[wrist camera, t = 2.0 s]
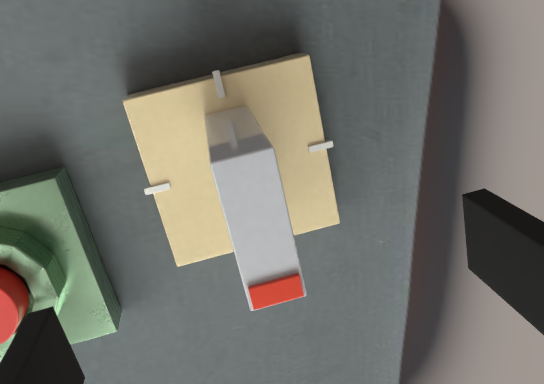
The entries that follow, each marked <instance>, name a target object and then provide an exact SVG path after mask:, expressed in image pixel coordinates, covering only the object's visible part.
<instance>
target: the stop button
mask: <svg viewBox="0 0 544 384" xmlns="http://www.w3.org/2000/svg"><path fill="white" fill-rule="evenodd" d="M28 305H29V295H28V291H27V289H26V286H25V285H24V283H23V282H22V280H21V279H20V278H19V277H18V276H17V275H16V274H14V273H13V272H11V271H10V270H8V269H6V268H3V267H1V266H0V344H2V343H4V342H5V341H7V340H8V339H9V338H10V337H11V336H12V335H13V334H14V333H15V331H16V329H17V328H18V326H19V324H20V322H21V320H22V319H23V317H24V315H25V313H26V311H27V309H28Z"/></svg>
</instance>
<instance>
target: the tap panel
mask: <svg viewBox="0 0 544 384" xmlns="http://www.w3.org/2000/svg"><path fill="white" fill-rule="evenodd" d="M212 73H213V74H211V75H207V76H203V77H199V78H195V79H190V80H186V81H182V82H178V83H174V84H170V85H166V86H162V87H157V88H153V89H149V90H145V91H141V92H137V93H133V94H129V95H127V96H126V97H125V99H124V100H123V104H124V107H125V110H126V113H127V116H128V120H129V123H130V126H131V129H132V132H133V135H134V138H135V141H136V144H137V147H138V150H139V153H140V156H141V159H142V162H143V165H144V168H145V171H146V174H147V177H148V180H149V183H150V186H151V187H147V188H144V191H145V194H146V195H148V194H152V193H153V195H154V198H155V201H156V204H157V207H158V210H159V213H160V216H161V219H162V222H163V226H164V229H165V232H166V235H167V238H168V241H169V244H170V247H171V250H172V253H173V256H174V259H175V262H176V265H177V266H178V267H179V266H182V265H186V264H190V263H194V262H197V261H201V260H205V259H208V258H212V257H216V256H220V255H223V254H227V253H231V252H234V250H233V246H232V243H231V239H230V236H229V232H228V228H227V225H226V221H225V218H224V214H223V210H222V207H221V203H220V199H219V196H218V192H217V189H216V185H215V181H214V178H213V174H212V171H211V167H210V162H209V154H208V146H207V138H206V130H205V122H204V116H206V115H210V114H214V113H218V112H222V111H226V110H230V109H234V108H238V107H242V106H248V107H249V109H250V111H251V112H252V114H253V115H254V117H255V119H256V120H257V122H258V123H259V125H260V126H261V128H262V130H263V131H264V133H265V134H266V136H267V137H268V139H269V141H270V142H271V144H272V145H273V147H274V149H275V154H276V158H277V163H278V167H279V172H280V176H281V181H282V185H283V189H284V194H285V198H286V203H287V207H288V212H289V216H290V221H291V225H292V230H293V234H294V235H298V234H301V233H305V232H309V231H312V230H316V229H320V228H324V227H327V226H331V225H335V224H338V223H340V219H339V214H338V208H337V203H336V197H335V192H334V186H333V181H332V175H331V170H330V165H329V159H328V154H327V148H331V147H333V142H332V140H331V141H327V142H325V137H324V132H323V126H322V121H321V115H320V110H319V104H318V99H317V94H316V88H315V83H314V77H313V72H312V66H311V61H310V56H309V55H306V54H303V53H298V54H294V55H289V56H285V57H281V58H277V59H273V60H269V61H265V62H261V63H256V64H252V65H248V66H244V67H240V68H236V69H232V70H228V71H223V72H219V70H216V71H212Z"/></svg>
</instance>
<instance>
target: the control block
mask: <svg viewBox="0 0 544 384" xmlns="http://www.w3.org/2000/svg"><path fill="white" fill-rule="evenodd" d="M0 266H1V267H3V268H6V269H8V270H10V271H11V272H13V273H14V274H16V275H17V276H18V277H19V278H20V279H21V280H22V282H23V283H24V285H25V286H26V289H27V291H28V295H29V305H28V309H27V311H26V313H25V315H24V317H23V319H22V320H21V322H20V324H19V326H18V328H17V329H16V331H15V333H14V334H13V335H12V336H11V337H10V338H9V339H8V340H7V341H5V342H4V343H2V344H0V362H1V360H2V358H3V357H4V355H5V353H6V351H7V349H8V348H9V346H10V344H11V342H12V340H13V338H14V337H15V335H16V333H17V331H18V329H19V328H20V326H21V324H22V322H23V320H24V318H25V317H26V315H27V313H31V312H34V311H38V310H41V309H45V308H49V307H52V306H53V308H54V310H55V312H56V314H57V317H58V319H59V321H60V323H61V326H62V328H63V330H64V332H65V334H66V337H67V339H68V341H69V343H70V344H74V343H78V342H81V341H85V340H89V339H92V338H96V337H99V336H103V335H107V334H110V333H114V332H117V329H118V325H119V321H120V317H121V312H122V311H121V308H120V305H119V303H118V300H117V298H116V295H115V293H114V290H113V288H112V285H111V282H110V280H109V277H108V275H107V272H106V270H105V267H104V265H103V262H102V260H101V257H100V254H99V252H98V249H97V247H96V244H95V242H94V239H93V237H92V234H91V232H90V229H89V226H88V224H87V221H86V219H85V216H84V214H83V211H82V209H81V206H80V204H79V201H78V198H77V196H76V193H75V191H74V188H73V186H72V183H71V181H70V178H69V176H68V173H67V170H66V168H65V167H60V168H56V169H52V170H48V171H44V172H40V173H36V174H32V175H28V176H24V177H20V178H16V179H12V180H8V181H4V182H0Z"/></svg>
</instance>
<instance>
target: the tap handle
mask: <svg viewBox="0 0 544 384" xmlns="http://www.w3.org/2000/svg"><path fill="white" fill-rule="evenodd" d="M204 122H205V130H206V138H207V146H208V154H209V162H210V167H211V171H212V174H213V178H214V181H215V185H216V189H217V192H218V196H219V199H220V203H221V207H222V210H223V214H224V218H225V221H226V225H227V228H228V232H229V236H230V239H231V243H232V246H233V250H234V254H235V257H236V261H237V264H238V268H239V272H240V275H241V279H242V282H243V286H244V290H245V293H246V297H247V300H248V304H249V308H250V310H251V311H254V310H258V309H261V308H265V307H268V306H272V305H276V304H279V303H283V302H286V301H290V300H294V299H297V298H301V297H304V296H306V295H307V292H306V288H305V283H304V279H303V274H302V270H301V265H300V261H299V256H298V252H297V248H296V243H295V239H294V234H293V230H292V225H291V221H290V216H289V212H288V207H287V203H286V198H285V194H284V189H283V185H282V181H281V176H280V172H279V167H278V163H277V158H276V154H275V149H274V147H273V145H272V144H271V142H270V141H269V139H268V137H267V136H266V134H265V133H264V131H263V130H262V128H261V126H260V125H259V123H258V122H257V120H256V119H255V117H254V115H253V114H252V112H251V111H250V109H249V107H248V106H242V107H238V108H234V109H230V110H226V111H222V112H218V113H214V114H210V115H206V116H204Z"/></svg>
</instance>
